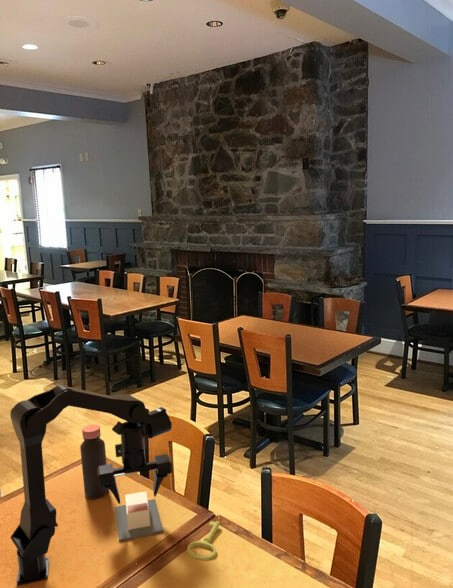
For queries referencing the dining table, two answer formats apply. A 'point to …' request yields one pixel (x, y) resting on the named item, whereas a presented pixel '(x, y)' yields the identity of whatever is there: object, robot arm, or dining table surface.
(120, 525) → the mat
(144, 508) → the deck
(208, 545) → the key
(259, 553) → the dining table surface
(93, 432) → the bottle
